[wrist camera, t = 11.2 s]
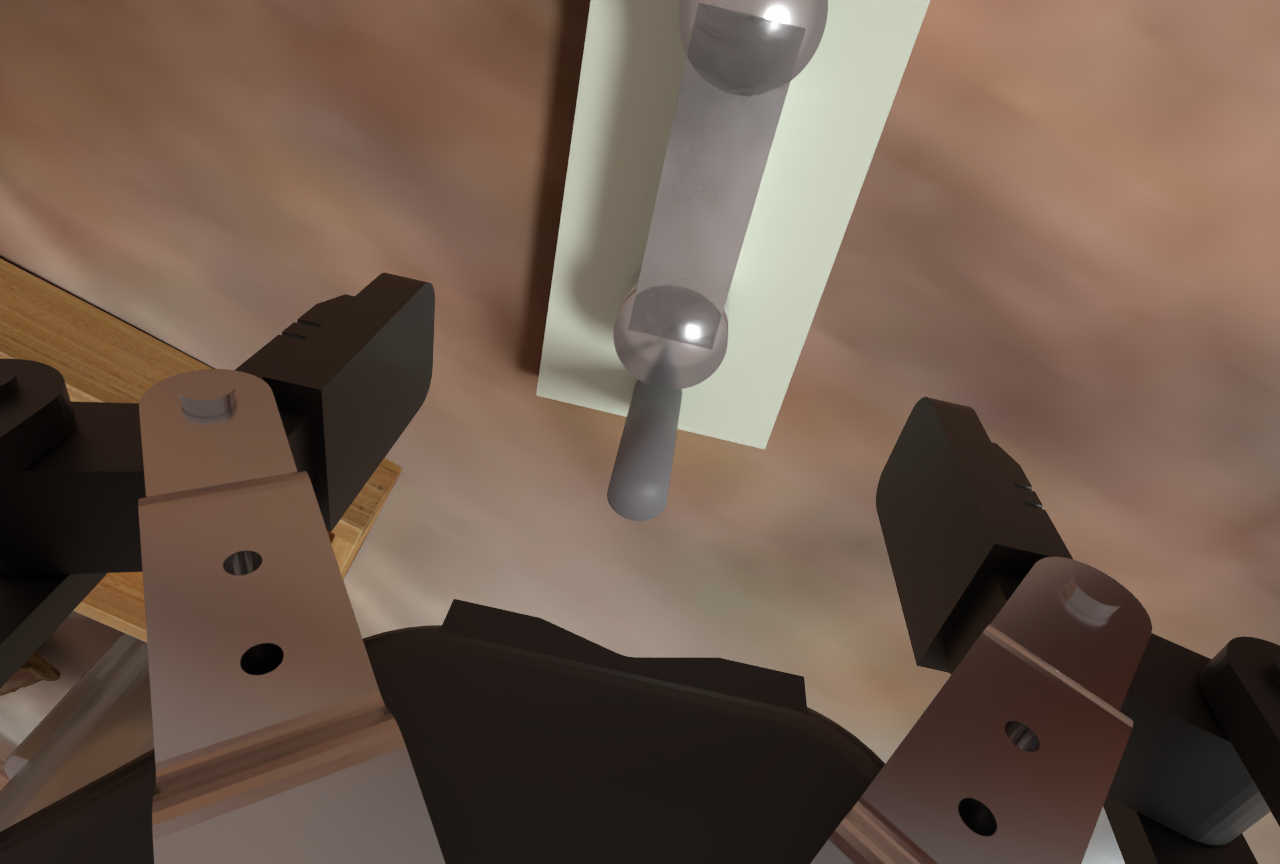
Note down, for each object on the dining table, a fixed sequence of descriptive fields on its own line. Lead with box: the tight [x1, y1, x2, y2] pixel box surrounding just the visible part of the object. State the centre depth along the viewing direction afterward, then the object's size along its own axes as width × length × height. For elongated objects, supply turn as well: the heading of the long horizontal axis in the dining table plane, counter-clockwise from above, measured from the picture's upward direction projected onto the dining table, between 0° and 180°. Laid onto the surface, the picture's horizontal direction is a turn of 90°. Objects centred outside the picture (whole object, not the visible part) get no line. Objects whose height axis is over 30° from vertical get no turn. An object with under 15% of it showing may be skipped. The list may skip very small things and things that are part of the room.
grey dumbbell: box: [613, 0, 828, 390], centre depth 23 cm, size 14×4×3 cm, turn 168°
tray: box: [0, 259, 402, 643], centre depth 34 cm, size 31×15×6 cm, turn 58°
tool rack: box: [536, 0, 930, 521], centre depth 22 cm, size 21×10×8 cm, turn 169°
